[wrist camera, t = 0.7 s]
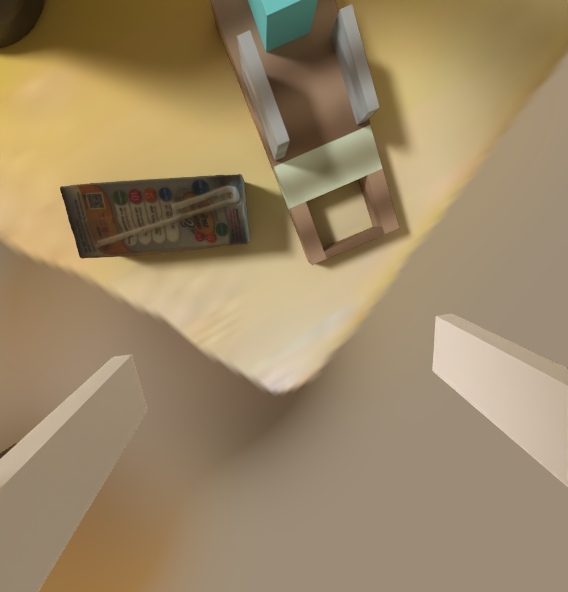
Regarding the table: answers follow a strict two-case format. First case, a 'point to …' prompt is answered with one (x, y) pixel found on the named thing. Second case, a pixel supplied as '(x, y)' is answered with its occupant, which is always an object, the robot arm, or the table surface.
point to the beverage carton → (157, 215)
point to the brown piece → (312, 114)
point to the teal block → (282, 20)
